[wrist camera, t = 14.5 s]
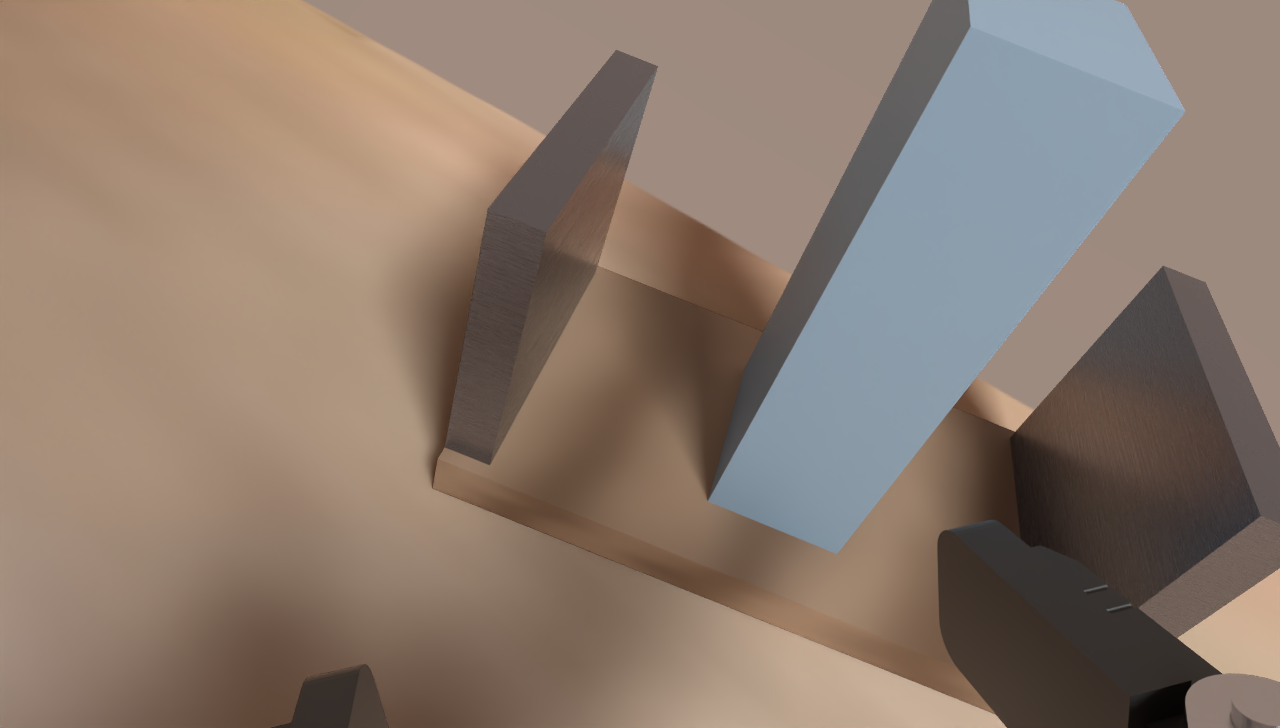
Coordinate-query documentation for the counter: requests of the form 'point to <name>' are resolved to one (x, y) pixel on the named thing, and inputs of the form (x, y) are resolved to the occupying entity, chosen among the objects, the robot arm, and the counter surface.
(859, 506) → the book
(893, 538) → the book stand
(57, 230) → the counter surface
